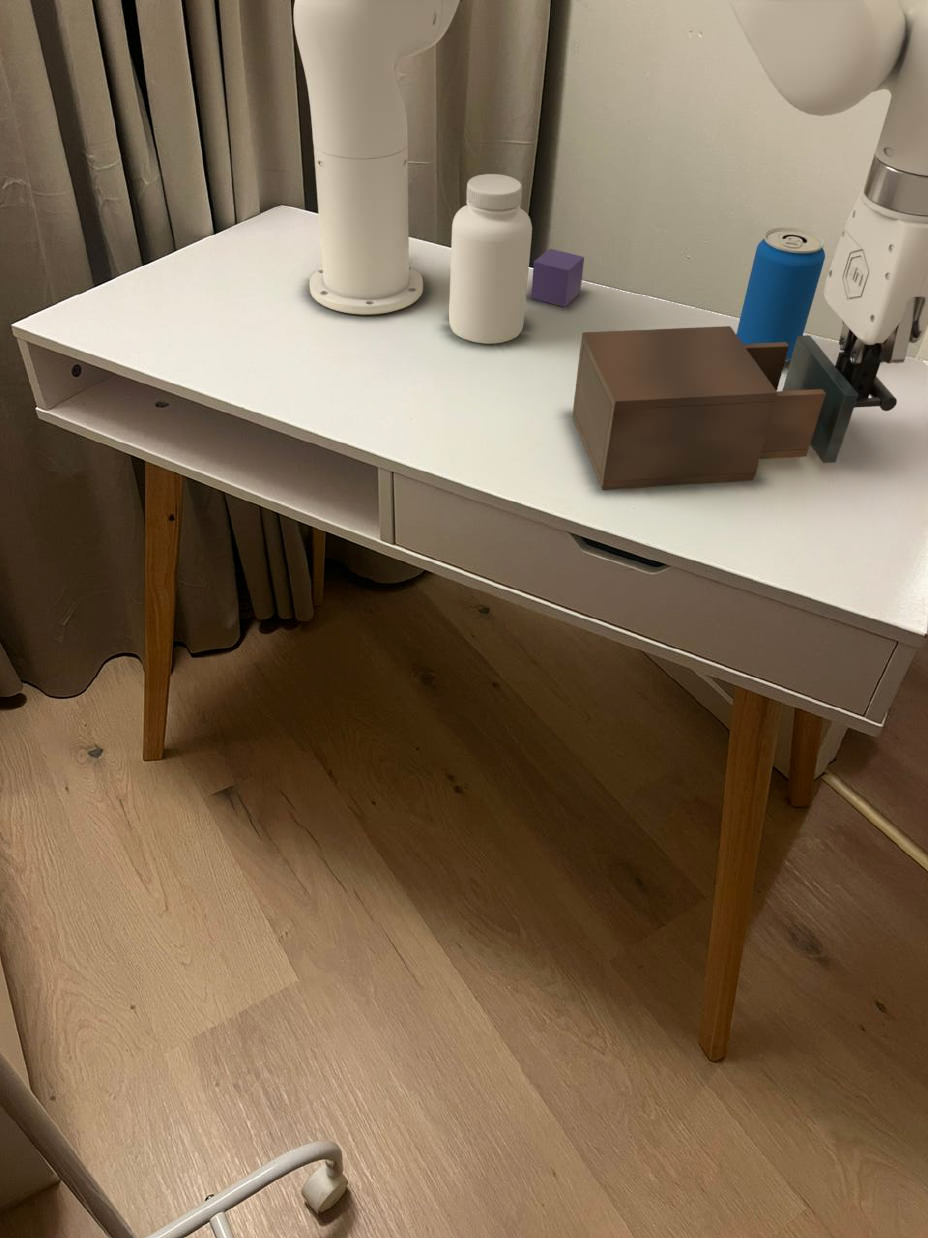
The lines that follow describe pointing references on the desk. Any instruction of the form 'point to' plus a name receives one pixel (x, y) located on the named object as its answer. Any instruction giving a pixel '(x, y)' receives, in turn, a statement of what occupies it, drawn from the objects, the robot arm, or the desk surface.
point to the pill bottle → (490, 261)
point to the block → (557, 277)
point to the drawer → (810, 400)
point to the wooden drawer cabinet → (671, 406)
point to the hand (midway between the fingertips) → (847, 395)
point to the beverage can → (781, 287)
